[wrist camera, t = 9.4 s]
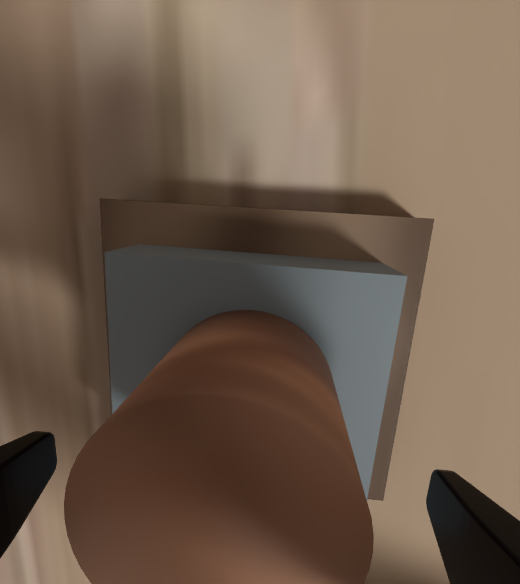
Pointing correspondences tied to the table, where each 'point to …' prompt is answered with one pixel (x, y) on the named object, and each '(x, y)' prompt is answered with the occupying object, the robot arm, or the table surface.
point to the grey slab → (267, 298)
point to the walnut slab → (292, 242)
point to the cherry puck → (224, 468)
